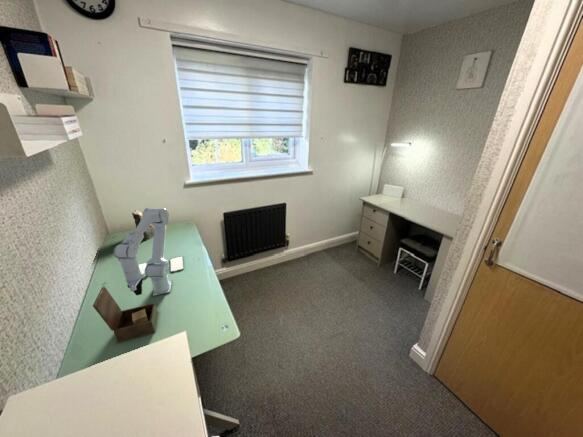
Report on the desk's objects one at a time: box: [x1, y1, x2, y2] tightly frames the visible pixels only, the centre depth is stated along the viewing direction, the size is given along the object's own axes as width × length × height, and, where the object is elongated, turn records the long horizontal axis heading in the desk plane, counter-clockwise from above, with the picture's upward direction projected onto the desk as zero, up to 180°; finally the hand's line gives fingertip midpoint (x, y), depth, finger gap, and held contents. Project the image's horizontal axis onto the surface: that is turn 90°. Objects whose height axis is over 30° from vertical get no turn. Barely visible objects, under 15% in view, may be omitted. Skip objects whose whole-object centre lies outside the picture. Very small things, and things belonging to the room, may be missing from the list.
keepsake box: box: [113, 302, 159, 343], centre depth 102 cm, size 13×11×6 cm
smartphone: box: [169, 256, 184, 273], centre depth 146 cm, size 7×1×15 cm
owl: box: [131, 209, 155, 241], centre depth 175 cm, size 13×13×20 cm
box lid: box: [92, 285, 122, 332], centre depth 95 cm, size 14×11×1 cm
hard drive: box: [138, 262, 147, 277], centre depth 139 cm, size 2×8×12 cm
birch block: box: [132, 309, 148, 325], centre depth 103 cm, size 5×5×5 cm
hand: (139, 293), depth 107 cm, fingers closed
